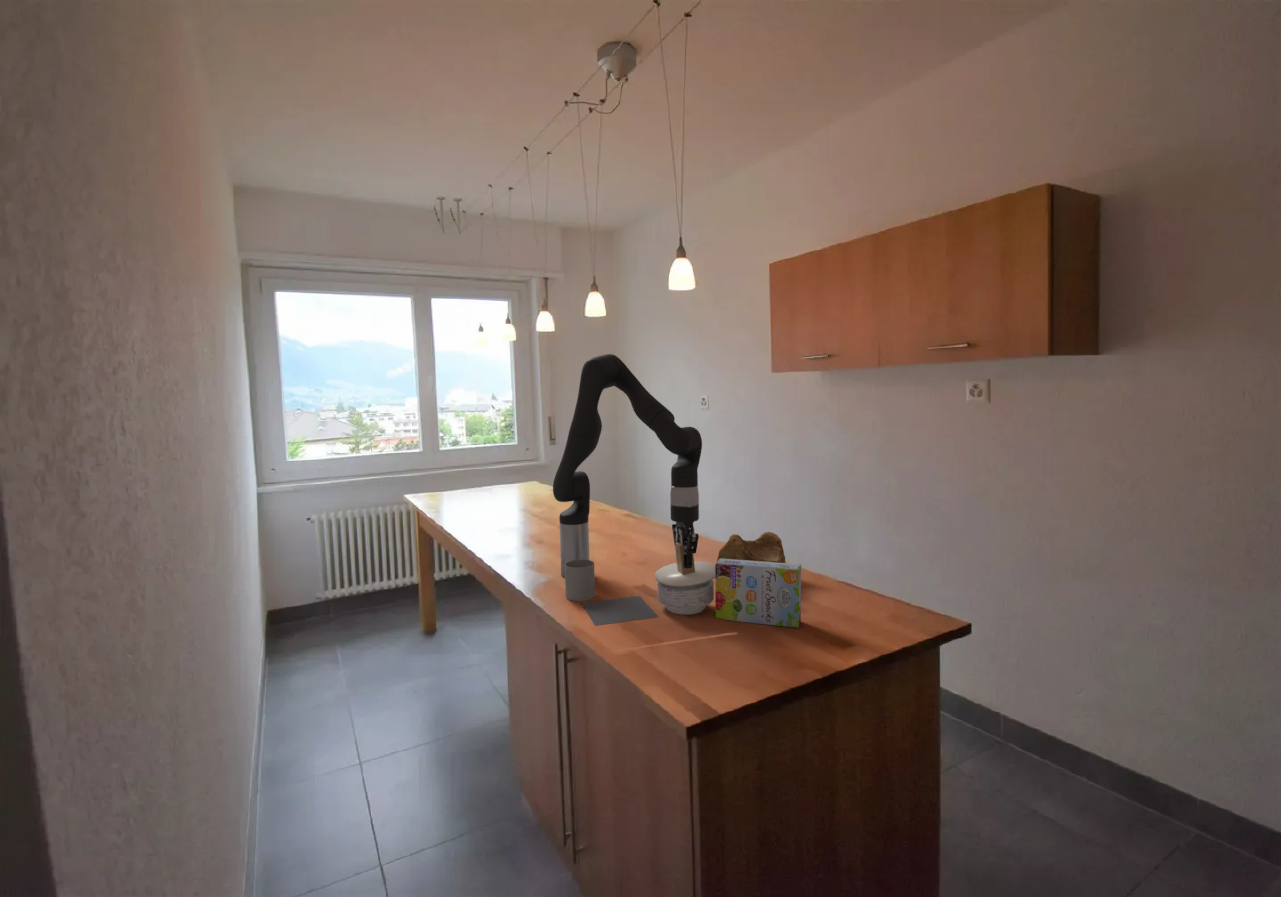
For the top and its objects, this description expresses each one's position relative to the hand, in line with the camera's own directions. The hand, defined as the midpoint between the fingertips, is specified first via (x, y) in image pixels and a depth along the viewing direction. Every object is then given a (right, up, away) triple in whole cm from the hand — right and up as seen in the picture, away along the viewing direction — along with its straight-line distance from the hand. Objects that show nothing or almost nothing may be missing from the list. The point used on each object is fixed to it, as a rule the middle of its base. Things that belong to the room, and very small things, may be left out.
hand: (685, 565), depth 165 cm
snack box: (+18, -13, -7) cm, 23 cm away
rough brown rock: (+23, -10, +21) cm, 33 cm away
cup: (-29, -12, +12) cm, 34 cm away
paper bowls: (0, -12, +1) cm, 12 cm away
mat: (-18, -13, 0) cm, 22 cm away
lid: (0, -3, 0) cm, 3 cm away
